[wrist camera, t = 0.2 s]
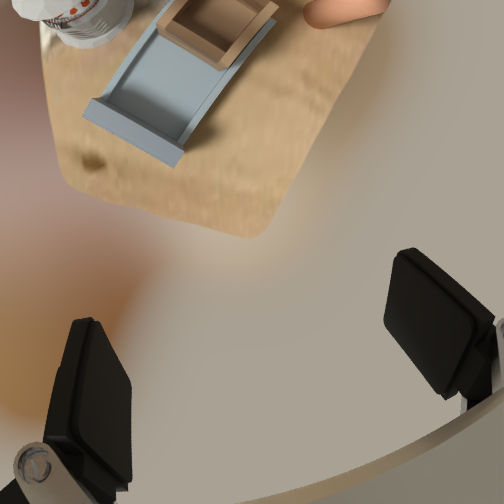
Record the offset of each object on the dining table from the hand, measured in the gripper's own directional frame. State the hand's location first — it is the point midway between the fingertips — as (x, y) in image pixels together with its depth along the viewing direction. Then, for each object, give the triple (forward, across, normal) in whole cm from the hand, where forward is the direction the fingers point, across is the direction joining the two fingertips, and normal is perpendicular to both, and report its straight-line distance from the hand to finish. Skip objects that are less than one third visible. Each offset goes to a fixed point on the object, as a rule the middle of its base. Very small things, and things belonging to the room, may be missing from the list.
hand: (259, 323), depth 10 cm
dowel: (+31, -17, -15) cm, 38 cm away
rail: (+31, 0, -10) cm, 32 cm away
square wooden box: (+29, -3, -14) cm, 32 cm away
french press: (+31, +10, -20) cm, 38 cm away
